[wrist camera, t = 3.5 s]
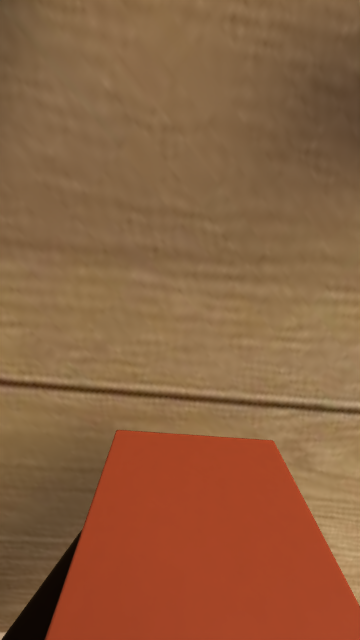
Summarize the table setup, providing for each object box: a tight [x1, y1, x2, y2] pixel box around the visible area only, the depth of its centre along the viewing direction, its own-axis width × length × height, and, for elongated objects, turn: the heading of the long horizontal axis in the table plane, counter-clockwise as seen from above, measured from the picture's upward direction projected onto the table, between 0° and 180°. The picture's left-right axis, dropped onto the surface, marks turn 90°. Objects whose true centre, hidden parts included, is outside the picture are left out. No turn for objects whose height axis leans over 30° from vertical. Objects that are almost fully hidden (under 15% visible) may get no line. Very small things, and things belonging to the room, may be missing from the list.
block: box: [45, 430, 360, 640], centre depth 6 cm, size 5×5×5 cm
